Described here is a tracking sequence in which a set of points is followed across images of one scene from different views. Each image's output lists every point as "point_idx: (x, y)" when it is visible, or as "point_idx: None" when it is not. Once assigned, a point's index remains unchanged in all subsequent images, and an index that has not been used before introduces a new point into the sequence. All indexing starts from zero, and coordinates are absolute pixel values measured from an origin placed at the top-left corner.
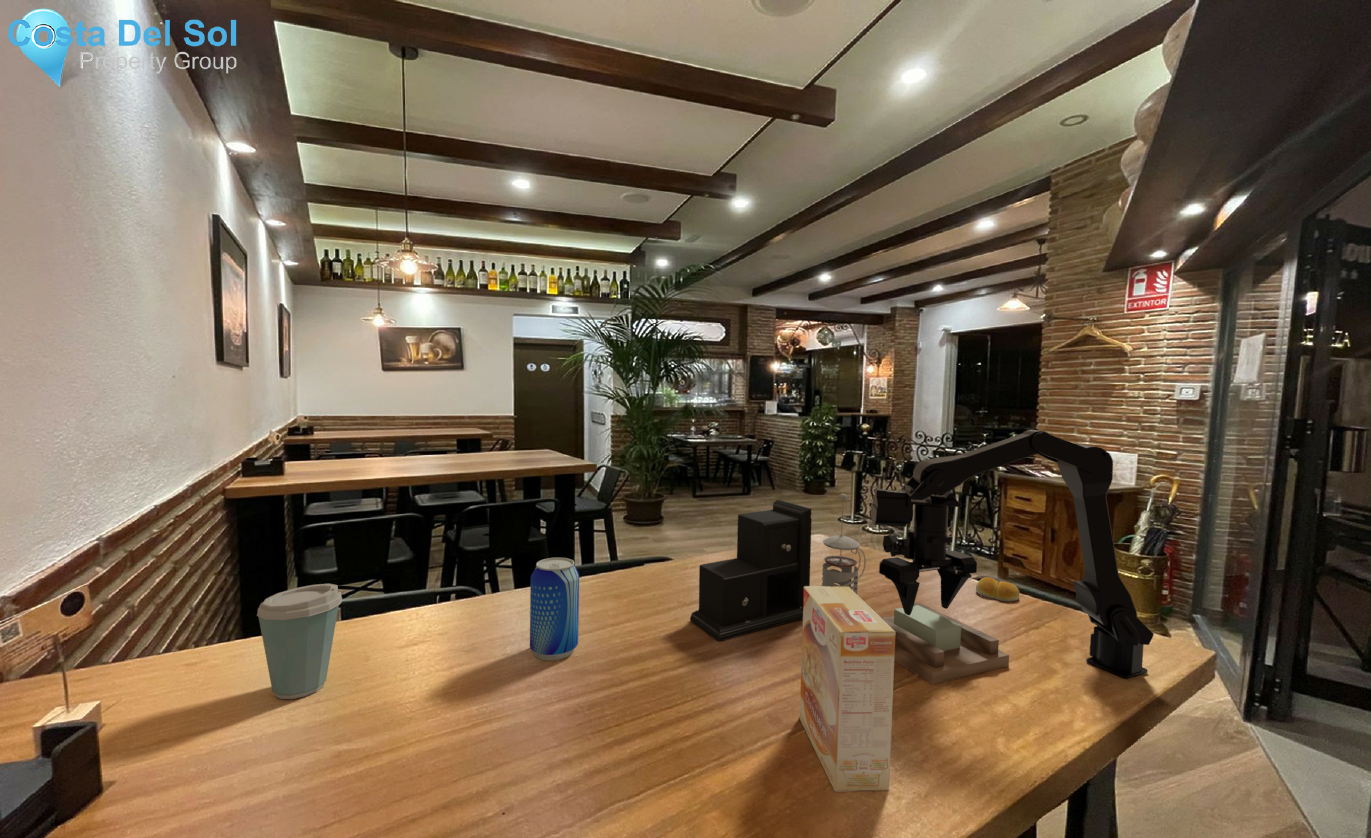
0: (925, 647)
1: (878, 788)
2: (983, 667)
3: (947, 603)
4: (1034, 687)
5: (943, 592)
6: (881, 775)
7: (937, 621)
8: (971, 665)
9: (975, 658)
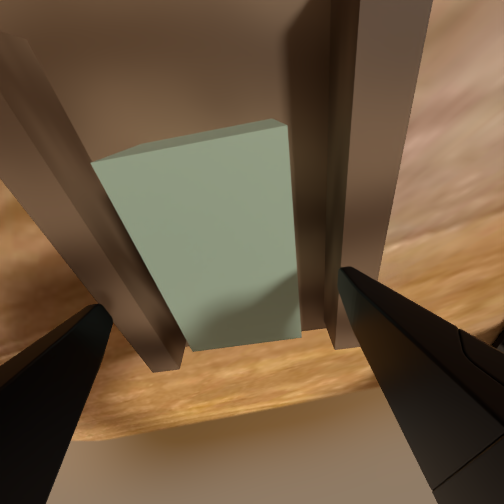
0: (141, 354)
1: None
2: None
3: (349, 316)
4: (326, 349)
5: (385, 340)
6: None
7: (242, 308)
8: None
9: None
